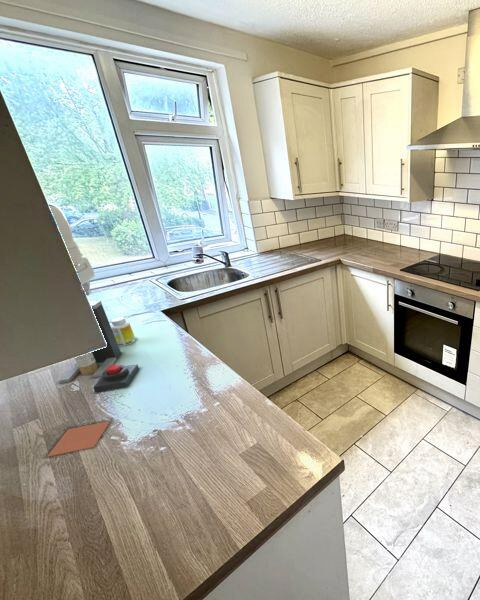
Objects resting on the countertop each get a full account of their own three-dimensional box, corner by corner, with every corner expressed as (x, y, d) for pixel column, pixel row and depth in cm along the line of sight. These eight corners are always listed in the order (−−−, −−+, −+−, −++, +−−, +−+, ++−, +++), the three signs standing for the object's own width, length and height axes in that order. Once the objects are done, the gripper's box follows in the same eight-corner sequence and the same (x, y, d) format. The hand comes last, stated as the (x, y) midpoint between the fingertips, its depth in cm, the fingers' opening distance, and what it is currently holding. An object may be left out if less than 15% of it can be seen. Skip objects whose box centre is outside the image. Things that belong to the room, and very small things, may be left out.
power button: (106, 375, 100) (104, 370, 99) (111, 369, 103) (109, 365, 102) (119, 373, 101) (117, 368, 100) (123, 367, 104) (121, 363, 103)
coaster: (47, 458, 77) (46, 456, 76) (69, 430, 84) (68, 429, 84) (94, 448, 79) (93, 446, 79) (111, 422, 87) (110, 420, 87)
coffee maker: (60, 384, 102) (30, 323, 94) (84, 360, 114) (59, 304, 106) (103, 377, 105) (78, 318, 97) (121, 354, 117) (100, 300, 109)
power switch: (95, 393, 98) (90, 382, 96) (110, 374, 107) (106, 364, 105) (127, 388, 100) (123, 377, 99) (139, 370, 109) (135, 359, 107)
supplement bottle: (138, 338, 128) (129, 314, 124) (133, 345, 123) (124, 321, 119) (121, 340, 126) (111, 317, 122) (115, 348, 121) (105, 323, 117)
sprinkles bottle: (87, 368, 110) (71, 333, 104) (102, 367, 110) (87, 332, 105) (77, 376, 105) (60, 340, 100) (93, 375, 106) (77, 339, 101)
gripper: (67, 250, 105) (83, 290, 111) (26, 268, 88) (48, 315, 93) (91, 248, 107) (106, 287, 113) (56, 266, 90) (76, 311, 95)
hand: (80, 300), depth 103 cm, fingers open, 8 cm apart
